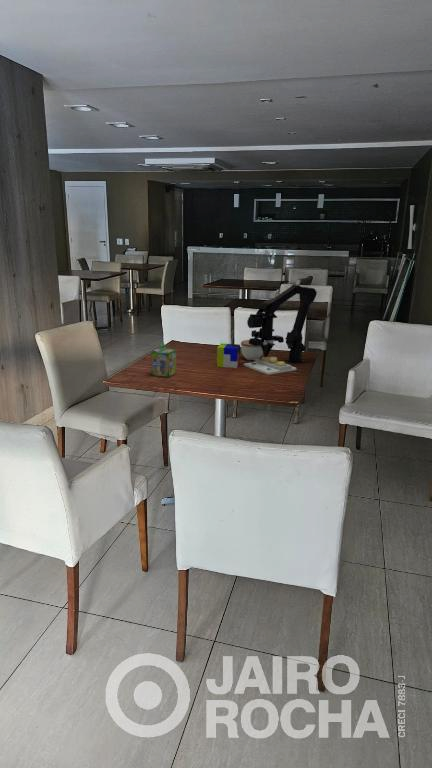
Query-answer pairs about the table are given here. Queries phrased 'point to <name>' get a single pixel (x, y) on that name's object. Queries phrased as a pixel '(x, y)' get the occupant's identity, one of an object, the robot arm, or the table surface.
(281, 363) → the button
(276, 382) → the table surface
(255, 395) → the table surface
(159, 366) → the green patterned box
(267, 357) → the button
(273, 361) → the button mid
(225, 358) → the puzzle toy
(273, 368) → the board
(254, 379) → the table surface
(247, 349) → the lidded bowl
